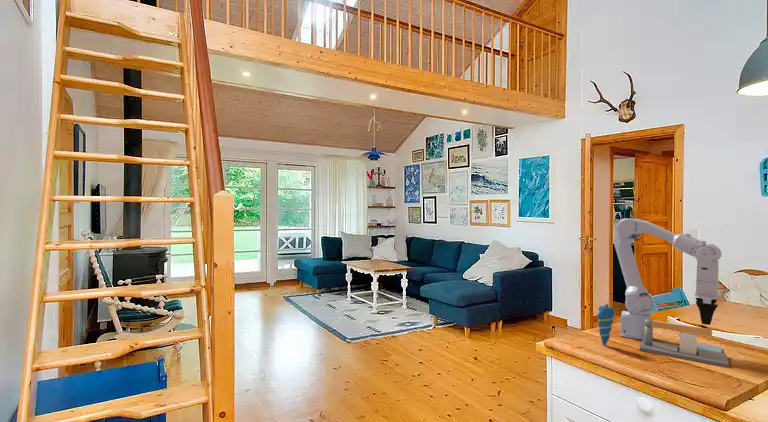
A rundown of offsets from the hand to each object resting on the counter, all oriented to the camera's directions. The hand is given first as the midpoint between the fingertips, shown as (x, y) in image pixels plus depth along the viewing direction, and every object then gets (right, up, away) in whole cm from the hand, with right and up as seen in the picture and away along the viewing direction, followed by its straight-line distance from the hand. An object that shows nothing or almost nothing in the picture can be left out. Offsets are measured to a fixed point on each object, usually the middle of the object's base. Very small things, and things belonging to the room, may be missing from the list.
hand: (705, 322), depth 139 cm
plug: (-7, -10, -2) cm, 13 cm away
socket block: (-9, -10, -1) cm, 13 cm away
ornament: (-31, -10, +5) cm, 33 cm away
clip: (-10, -3, 0) cm, 10 cm away
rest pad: (+4, -10, +5) cm, 12 cm away
